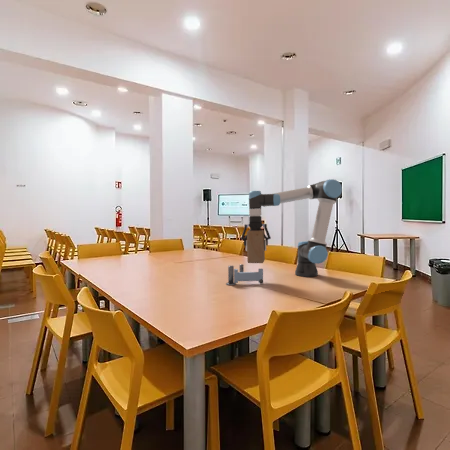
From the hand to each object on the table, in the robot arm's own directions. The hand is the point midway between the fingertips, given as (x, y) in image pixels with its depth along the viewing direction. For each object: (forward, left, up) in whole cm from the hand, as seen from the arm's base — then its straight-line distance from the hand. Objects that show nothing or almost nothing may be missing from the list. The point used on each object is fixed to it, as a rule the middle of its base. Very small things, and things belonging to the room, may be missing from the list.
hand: (256, 250), depth 194 cm
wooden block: (0, 0, -7) cm, 7 cm away
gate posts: (+13, 0, -19) cm, 23 cm away
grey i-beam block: (+6, +8, -18) cm, 21 cm away
